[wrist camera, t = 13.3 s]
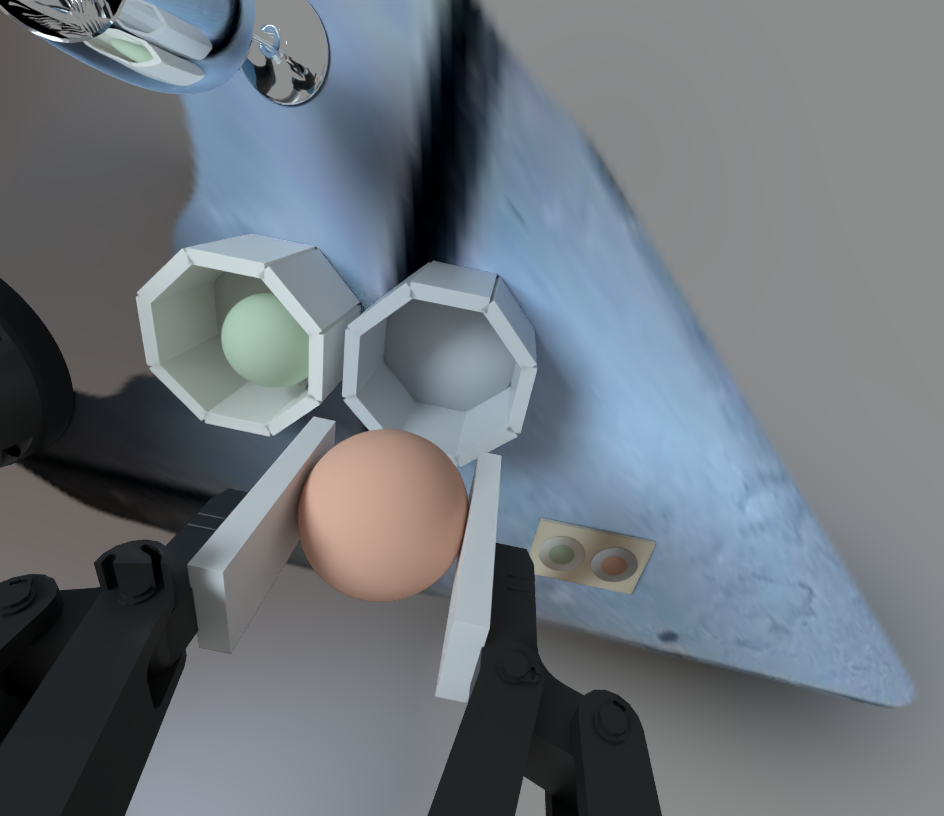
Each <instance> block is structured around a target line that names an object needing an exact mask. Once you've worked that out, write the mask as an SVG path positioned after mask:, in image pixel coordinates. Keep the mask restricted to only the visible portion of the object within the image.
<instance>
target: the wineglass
mask: <svg viewBox="0 0 944 816" xmlns="http://www.w3.org/2000/svg"><path fill="white" fill-rule="evenodd" d="M0 9H1V10H2V11H3V12H4V13H5V14H7V15H8V16H9V17H10V18H11V19H13V20H14V21H15V22H16V23H18V24H19V25H21V26H23V27H24V28H26V29H27V30H29V31H31V32H32V33H34V34H36V35H37V36H39V37H41V38H42V39H44V40H45V41H47V42H49V43H50V44H52V45H54V46H55V47H57V48H58V49H60V50H62V51H63V52H65V53H67V54H69V55H71V56H73V57H75V58H76V59H78V60H80V61H82V62H84V63H86V64H87V65H90V66H92V67H94V68H96V69H98V70H100V71H102V72H104V73H106V74H109V75H111V76H113V77H116V78H118V79H120V80H122V81H125V82H128V83H130V84H133V85H136V86H140V87H143V88H146V89H150V90H153V91H158V92H163V93H171V94H195V93H200V92H205V91H209V90H212V89H214V88H217V87H219V86H221V85H223V84H224V83H226V82H227V81H228V80H230V79H231V78H232V77H233V76H234V75H235V74H236V73H237V72H238V71H239V69H240V68H241V69H242V71H243V73H244V75H245V76H246V78H247V79H248V81H249V82H250V83H251V85H252V86H253V87H254V88H255V89H256V90H257V91H258V92H259V93H260V94H261V95H263V96H264V97H265V98H267V99H269V100H271V101H273V102H275V103H278V104H282V105H296V104H300V103H303V102H305V101H307V100H308V99H310V98H311V97H312V96H313V95H314V94H315V93H316V92H317V91H318V90H319V88H320V87H321V85H322V83H323V81H324V78H325V76H326V73H327V68H328V59H329V50H328V42H327V37H326V33H325V30H324V27H323V25H322V23H321V20H320V18H319V16H318V14H317V13H316V11H315V10H314V8H313V7H312V6H311V4H310V3H309V2H308V1H307V0H0Z"/></svg>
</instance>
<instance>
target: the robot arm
mask: <svg viewBox="0 0 944 816" xmlns="http://www.w3.org/2000/svg"><path fill="white" fill-rule="evenodd" d="M73 401H74V399H73V387H72V382H71V378H70V374H69V371H68V368H67V365H66V363H65V360H64V358H63V355H62V353H61V351H60V349H59V347H58V345H57V344H56V342H55V340H54V338H53V337H52V335H51V334H50V332H49V331H48V329H47V328H46V326H45V325H44V323H43V322H42V321H41V319H40V318H39V317H38V315H37V314H36V313H35V312H34V311H33V310H32V308H31V307H30V306H29V305H28V304H27V303H26V302H25V301H24V300H23V298H21V296H20V295H19V294H18V293H17V292H15V291H14V290H13V289H12V288H11V287H10V286H9V285H8V284H7V283H5V282H4V281H3V280H2V279H1V278H0V467H4V466H7V465H11V464H13V463H16V462H18V461H21V460H23V459H25V458H27V457H29V456H30V455H32V454H34V453H36V452H38V451H39V450H41V449H43V448H45V447H46V446H48V445H50V444H52V443H53V442H55V441H56V440H57V439H58V438H59V437H60V436H61V435H62V434H63V433H64V431H65V430H66V428H67V426H68V424H69V422H70V419H71V416H72V412H73ZM335 425H336V421H333V420H328V419H323V418H318V417H313V418H312V419H311V420H310V421H309V422H308V424H307V425H306V426H305V427H304V428H303V429H302V431H301V432H300V433H299V434H298V435H297V436H296V438H295V439H294V440H293V441H292V442H291V443H290V445H289V446H288V447H287V448H286V449H285V451H284V452H283V453H282V454H281V455H280V456H279V458H278V459H277V460H276V461H275V462H274V463H273V465H272V466H271V467H270V468H269V469H268V470H267V472H266V473H265V474H264V475H263V476H262V477H261V479H260V480H259V481H258V482H257V483H256V484H255V486H254V487H253V488H252V489H251V490H250V492H249V493H248V492H244V491H239V490H234V489H227V490H225V491H224V492H222V493H220V494H218V495H216V496H215V497H213V498H211V499H210V500H209V501H208V502H207V503H206V504H205V505H204V506H203V507H202V508H201V509H200V510H199V511H198V514H196V515H195V516H194V517H193V518H192V519H191V520H190V521H189V522H188V524H187V526H186V525H185V526H184V527H183V528H182V529H181V530H180V531H179V532H178V533H177V535H176V536H175V537H174V538H173V539H172V540H171V541H170V542H169V543H168V544H167V545H166V546H164V545H163V544H161V543H159V542H157V541H151V540H138V541H130V542H127V543H124V544H121V545H118V546H115V547H114V548H112V549H110V550H108V551H107V552H105V553H103V554H102V555H101V556H100V557H99V558H98V559H97V560H96V561H95V562H94V565H95V569H96V572H97V576H98V580H99V583H100V587H98V588H87V589H74V590H73V589H72V590H59V589H58V586H57V584H56V582H55V580H54V579H53V578H51V577H48V576H46V575H41V574H28V575H24V576H18V577H13V578H11V579H8V580H6V581H3V582H1V583H0V816H125V814H126V811H127V809H128V806H129V804H130V801H131V799H132V796H133V794H134V791H135V789H136V786H137V784H138V781H139V779H140V776H141V774H142V771H143V769H144V766H145V763H146V761H147V759H148V756H149V754H150V751H151V749H152V746H153V744H154V741H155V739H156V736H157V734H158V731H159V729H160V726H161V724H162V721H163V719H164V716H165V714H166V711H167V709H168V706H169V704H170V701H171V699H172V696H173V694H174V691H175V689H176V686H177V684H178V681H179V679H180V676H181V674H182V671H183V669H184V666H185V661H186V656H187V655H186V647H187V646H188V644H189V643H190V641H191V640H192V639H193V637H194V636H195V634H196V633H197V636H198V643H199V648H204V649H209V650H214V651H219V652H224V653H229V654H231V653H232V651H233V650H234V648H235V646H236V645H237V643H238V641H239V640H240V638H241V636H242V635H243V633H244V631H245V630H246V628H247V626H248V625H249V623H250V621H251V620H252V618H253V616H254V615H255V613H256V611H257V610H258V608H259V606H260V605H261V603H262V601H263V600H264V598H265V596H266V595H267V593H268V592H269V590H270V588H271V586H272V585H273V583H274V581H275V580H276V578H277V576H278V575H279V573H280V572H281V570H282V568H283V567H284V565H285V563H286V562H287V560H288V558H289V557H290V555H291V553H292V552H293V550H294V548H295V547H296V545H297V543H298V542H299V540H300V537H299V533H298V519H297V515H298V506H299V500H300V496H301V493H302V490H303V487H304V484H305V482H306V480H307V478H308V476H309V475H310V473H311V471H312V470H313V468H314V467H315V465H316V464H317V463H318V462H319V460H320V459H321V458H322V457H323V456H324V455H325V454H326V453H327V452H328V451H329V450H331V449H332V448H333V447H334V444H335ZM500 470H501V455H496V454H491V453H486V452H482V451H479V455H478V459H477V463H476V468H475V472H474V476H473V481H472V485H471V490H470V494H469V498H468V504H469V512H468V518H467V523H466V529H465V534H464V538H463V543H462V546H461V549H460V551H459V553H458V560H457V566H456V572H455V578H454V584H453V590H452V596H451V602H450V608H449V614H448V620H447V627H446V633H445V639H444V645H443V651H442V657H441V663H440V669H439V675H438V682H437V688H436V694H435V696H436V697H441V698H445V699H450V700H455V701H460V702H465V703H467V700H468V697H469V701H468V705H467V707H466V710H465V713H464V716H463V719H462V721H461V724H460V727H459V730H458V733H457V735H456V738H455V741H454V744H453V746H452V749H451V752H450V755H449V758H448V760H447V763H446V766H445V769H444V772H443V775H442V777H441V780H440V783H439V786H438V788H437V791H436V794H435V797H434V799H433V802H432V805H431V808H430V810H429V813H428V816H515V812H516V808H517V803H518V799H519V794H520V789H521V785H522V780H523V776H524V777H526V778H527V779H529V780H530V781H532V782H534V783H535V784H537V785H538V786H540V787H541V788H543V789H545V802H546V816H662V814H661V810H660V805H659V800H658V795H657V791H656V786H655V781H654V777H653V772H652V768H651V763H650V758H649V753H648V749H647V744H646V740H645V735H644V730H643V727H642V725H641V722H640V720H639V717H638V715H637V714H636V713H635V711H634V710H633V708H632V707H631V706H630V704H629V703H627V702H626V701H625V700H624V699H622V698H621V697H620V696H619V695H617V694H614V693H612V692H609V691H607V690H593V691H591V692H590V693H587V694H585V696H584V695H582V694H581V693H579V692H577V691H575V690H573V689H572V688H570V687H568V686H566V685H564V684H563V683H561V682H560V681H559V680H557V679H556V678H554V677H553V676H552V675H551V674H550V673H549V672H548V671H547V669H546V668H545V666H544V665H543V663H542V661H541V659H540V656H539V654H538V648H537V632H536V604H535V584H534V581H535V575H534V563H533V561H532V559H531V557H530V555H529V553H528V551H527V549H523V548H518V547H513V546H509V545H504V544H499V543H496V529H497V514H498V500H499V485H500Z"/></svg>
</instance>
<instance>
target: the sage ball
mask: <svg viewBox="0 0 944 816" xmlns="http://www.w3.org/2000/svg"><path fill="white" fill-rule="evenodd" d="M221 341H222V348H223V351H224V354H225V356H226V359H227V360H228V362H229V363H230V365H231V366H232V368H233V369H234V370H235V371H236V372H237V373H238V374H239V375H241V376H242V377H243V378H245V379H246V380H248V381H250V382H252V383H254V384H257V385H260V386H264V387H271V388H281V387H287V386H291V385H294V384H297V383H299V382H301V381H303V380H304V379H306V378H307V377H308V376H309V335H308V334H307V333H306V332H305V330H304V329H303V328H302V327H301V326H300V324H299V323H298V322H297V321H296V320H295V319H294V317H293V316H292V315H291V314H290V313H289V311H288V310H287V309H286V308H285V307H284V305H283V304H282V303H281V302H280V301H279V300H278V298H277V297H276V296H275V295H274V294H273V292H263V293H258V294H254V295H251V296H249V297H247V298H245V299H243V300H241V301H240V302H238V303H237V304H236V305H235V306H234V307H233V308H232V309H231V311H230V312H229V313H228V315H227V316H226V318H225V321H224V323H223V327H222V332H221Z"/></svg>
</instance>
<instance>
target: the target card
mask: <svg viewBox="0 0 944 816" xmlns="http://www.w3.org/2000/svg"><path fill="white" fill-rule="evenodd" d="M655 545H656V544H655V541H651V540H646V539H641V538H636V537H631V536H627V535H622V534H617V533H612V532H607V531H603V530H598V529H593V528H588V527H584V526H579V525H574V524H569V523H564V522H560V521H555V520H550V519H545V518H540V521H539V524H538V528H537V531H536V534H535V537H534V540H533V543H532V546H531V549H530V552H529V555H530V557H531V559H532V561H533V563H534V574H536V575H541V576H545V577H550V578H555V579H560V580H564V581H569V582H574V583H579V584H583V585H588V586H593V587H598V588H602V589H607V590H612V591H617V592H621V593H626V594H632V592H633V590H634V588H635V586H636V584H637V582H638V580H639V578H640V576H641V574H642V571H643V569H644V567H645V565H646V563H647V561H648V559H649V557H650V555H651V553H652V551H653V549H654V547H655Z"/></svg>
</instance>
